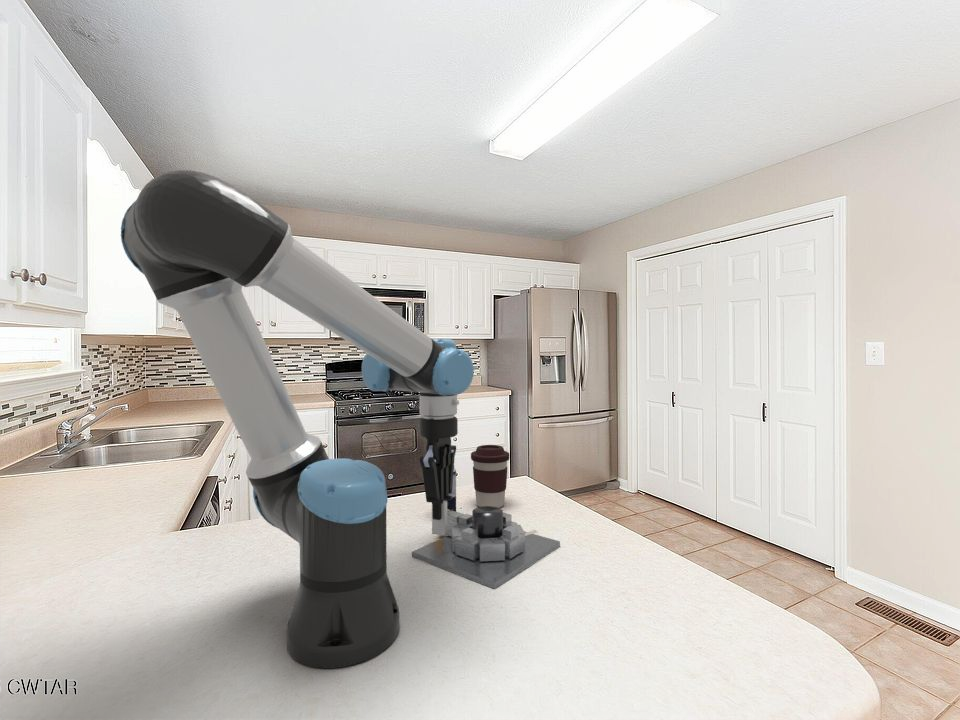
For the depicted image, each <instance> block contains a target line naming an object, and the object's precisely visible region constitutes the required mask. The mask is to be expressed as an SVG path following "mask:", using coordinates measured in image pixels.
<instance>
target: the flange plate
mask: <svg viewBox="0 0 960 720" xmlns="http://www.w3.org/2000/svg"><path fill="white" fill-rule="evenodd" d="M503 513H504V511H503V509H502V508H501V507H500V508H497V507H492V506H483V507H479V506H478V507H475V508H473V509H472V513H471V515H472V529H475V530H478V538H481V539H484V538H500V537H501V536H503ZM524 532H525V548H524V551H523V552H521V553H519V554H518V555H516V556H514V557H512V558H511V559H509V558H506V557H505V560H500V561H481V562H480V559H479V558H478V559H477V560H475V561H473V560H470V559H468V558H465V557H462V556H459V555H456V554H455V552H453V549H452V537H450V536H447V535H445V536H444V537H441V538H440V539H437V540H435V541H432V542H430V543H428V544H425V545H423V546H421V547H418V548H417V549H415V550H413V551H411V557H412V558H414V559H417V560H419V561H421V562H424V563H426V564H430V565H431V566H435V567H437V568H440V569H442V570H444V571H447V572H451V573H453V574H455V575H457V576H460V577H463V578H466V579H468V580H470V581H473V582H476V583H478V584H480V585H483V586H486V587H489V588H491V589H495V590H496V589H497V588H498V587H500V586H502V585H503V584H504V583H506V582H507V581H510V579H512V578H514V577H515V576H517V575H518V574H520V573H521V572H523V571H525V570H526V569H527V568H529V567H531V566H532V565H534V564H535V563H537V562H538V561H540V560H541V559H543V558H544V557H546V556H548V555H549V554H551V553H552V552H554V551H555V550H557V549H558V548H560V547H561V541H559V540H556V539H552V538H549V537H545V536H542V535H538V531H537V530H530V531H528V532H527V531H524ZM536 533H537V534H536Z"/></svg>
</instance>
